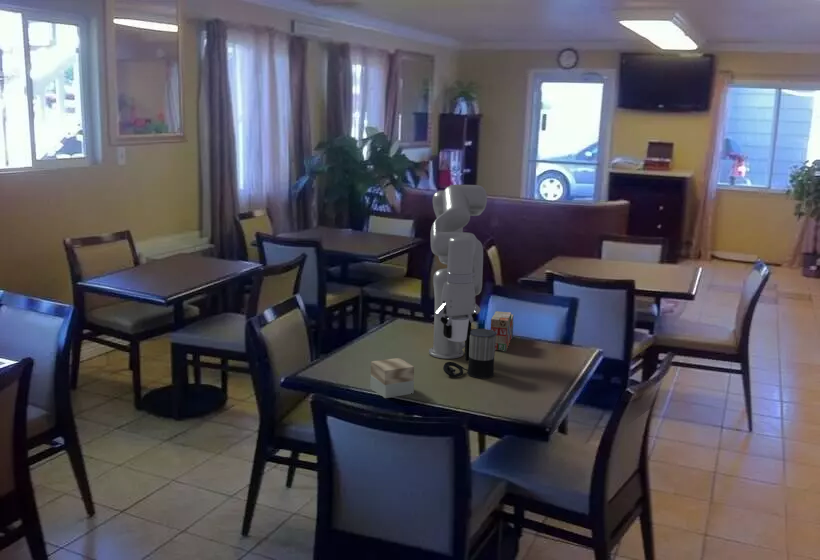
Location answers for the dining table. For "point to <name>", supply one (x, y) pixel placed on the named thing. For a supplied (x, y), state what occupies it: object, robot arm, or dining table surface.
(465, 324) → the white cylinder
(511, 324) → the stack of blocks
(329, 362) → the dining table surface
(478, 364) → the milk frother
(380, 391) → the tower bottom
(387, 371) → the tower top
